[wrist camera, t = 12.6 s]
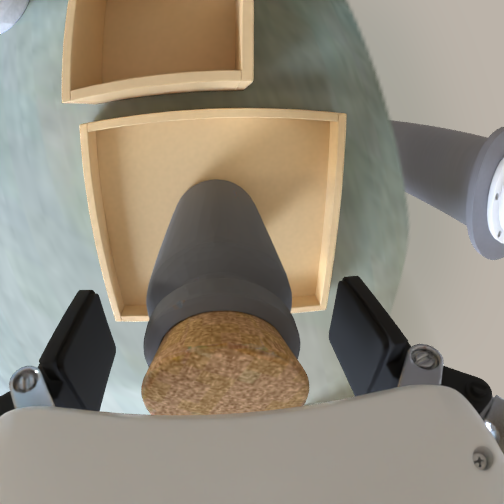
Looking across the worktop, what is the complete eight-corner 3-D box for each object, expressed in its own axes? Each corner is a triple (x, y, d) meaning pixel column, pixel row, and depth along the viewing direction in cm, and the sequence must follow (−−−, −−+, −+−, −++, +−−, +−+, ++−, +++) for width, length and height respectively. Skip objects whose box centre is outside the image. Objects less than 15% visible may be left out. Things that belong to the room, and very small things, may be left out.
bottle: (273, 219, 21) (362, 389, 8) (215, 270, 23) (226, 461, 9) (217, 160, 19) (226, 277, 6) (157, 219, 20) (85, 397, 7)
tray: (334, 113, 19) (346, 113, 17) (318, 296, 26) (326, 310, 24) (91, 123, 17) (79, 124, 15) (121, 306, 24) (115, 321, 22)
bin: (244, -32, 13) (254, -69, 8) (243, 90, 18) (253, 81, 13) (103, -17, 12) (77, -45, 7) (96, 104, 17) (61, 103, 12)
